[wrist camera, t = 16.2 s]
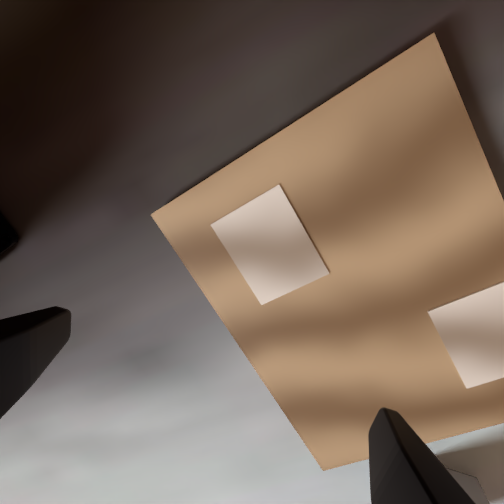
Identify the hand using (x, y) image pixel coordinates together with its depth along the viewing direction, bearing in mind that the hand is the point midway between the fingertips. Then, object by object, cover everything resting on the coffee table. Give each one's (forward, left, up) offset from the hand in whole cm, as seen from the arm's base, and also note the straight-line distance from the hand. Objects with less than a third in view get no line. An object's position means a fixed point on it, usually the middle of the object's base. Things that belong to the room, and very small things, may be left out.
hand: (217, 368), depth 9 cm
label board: (+5, +4, -11) cm, 13 cm away
